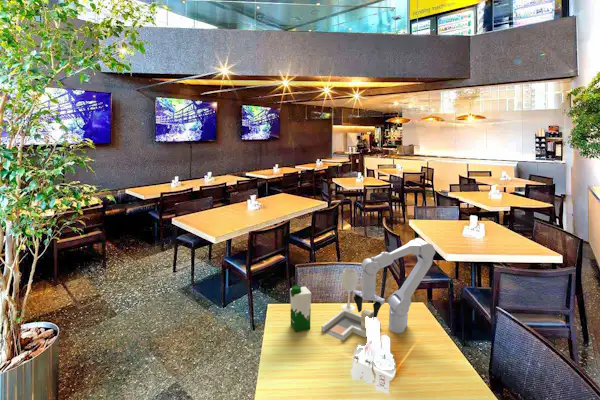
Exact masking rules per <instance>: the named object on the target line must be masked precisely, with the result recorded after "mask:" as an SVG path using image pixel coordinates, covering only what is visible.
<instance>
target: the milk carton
mask: <svg viewBox="0 0 600 400" xmlns="http://www.w3.org/2000/svg"><path fill="white" fill-rule="evenodd" d="M289 295H290V298H289V299H290V325H291V327H292V329H293V330H294V332H295V331H296V332H295V333H299V332H303V331H307V330H311V316H312V315H311V310H312V309H311V307H312V306H311V305H312V304H311V303H312V302H311V299H312V292H311V291H310V290H309V289H308V288H307V286H301V285H293V286H291V288H289Z"/></svg>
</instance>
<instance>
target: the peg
mask: <svg viewBox="0 0 600 400" xmlns="http://www.w3.org/2000/svg"><path fill="white" fill-rule="evenodd" d="M360 315H361V329H363V330H365V331H366V328H365V317H366V316H368V317H369V318H372V317H373V318H374V310H370V309H367V308H364V310H362V311H361V314H360Z"/></svg>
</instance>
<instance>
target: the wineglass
mask: <svg viewBox="0 0 600 400" xmlns="http://www.w3.org/2000/svg"><path fill="white" fill-rule="evenodd" d="M358 281H359V280H358V273H357V270H356V269H354V268H350V267H349V268H344V269H343V270H342V274H341V287H342V288H343V289H344V290H345V291H346V292H347V303H345V304H342V305H340V307H339V308H340V309H342V310H343V309H344V310H347V311H350V312H352V311H355V310H356V306H354V305H353V304H351V302H350V300H351V299H350V298H351V292H353V291H354V290H356V289H357V286H358Z"/></svg>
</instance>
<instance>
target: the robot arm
mask: <svg viewBox="0 0 600 400" xmlns="http://www.w3.org/2000/svg"><path fill="white" fill-rule="evenodd" d="M410 254H411V255H415V256H416V259H417V262H416V264H415V266H414V267H413V269H412V270H411V272H409V275H408V276H407V277H406V279H405V281H403V284H402V286H401V287H400V288H399V289H396V290H395V291H394V292H393V293H392V294H391V295H389V297H387V304H388V306H389V310H388V311H389V313H388V329H389V330H390V331H391V332H393V333H396V334H402V333H404V332H405V331H406V328H407V327H408V316H409V314H408V313H409V311H410V306H411V304H412V300H411V298H412V295H413V294H414V292H415V291H416V290H417V288H418V287H419V285H420V284H421V282H422V280H423V279H424V277H425V276H426V274H427V273H428V271H429V270H430V268H431V267H432V265H433V260H434V256H435V254H436V250H435V247H434V245H433V244H432V243H430V242H427V241H426V240H423V238H421V237H415V238H414V239H412V240H409V242H407V243H406V244H403V245H401V246H400V247H398V248H396V249H394V250H392V251H391V252H389V251H382V252H380V254H378V255H375V256H371V258H369V257H368V258H364V259H363V261H362V263H361V264H360V266H361V268H362V280H361V281H362V282H361V283H362V284H361V290H358V289H357V290H356V289H354V290H353V291H352V296H354V297H353V300H354V302H355V305H356V308H357V312H358V313H360V312H361V313H362V311H363V310H362V309H363V300H365V301H372V302H374V303H373V304H372V308H373V311H374V317H376V318H377V317H378V314H379V311H380V308H381V307H382V306H383V305H385V298H383V297H380V296H379V295H377V294H376V282H377V279H376V278H377V273H378V272H379V270H382V269H383V268H385V267H387V266H390V265H392V264H393V263H394V260H396V259H397V260H398V259H400V258H403V257H404V256H405V257H406V256H408V255H410ZM374 317H373V318H374Z"/></svg>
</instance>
